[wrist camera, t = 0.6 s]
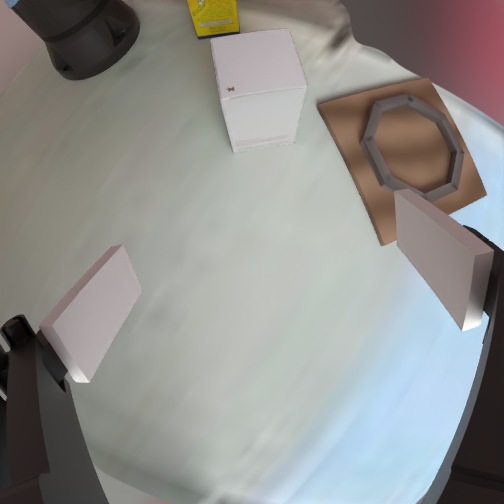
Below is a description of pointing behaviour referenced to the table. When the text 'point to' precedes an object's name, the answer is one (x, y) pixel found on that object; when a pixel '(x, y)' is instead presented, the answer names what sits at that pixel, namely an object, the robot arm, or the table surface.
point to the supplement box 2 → (259, 87)
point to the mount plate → (402, 150)
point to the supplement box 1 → (214, 17)
